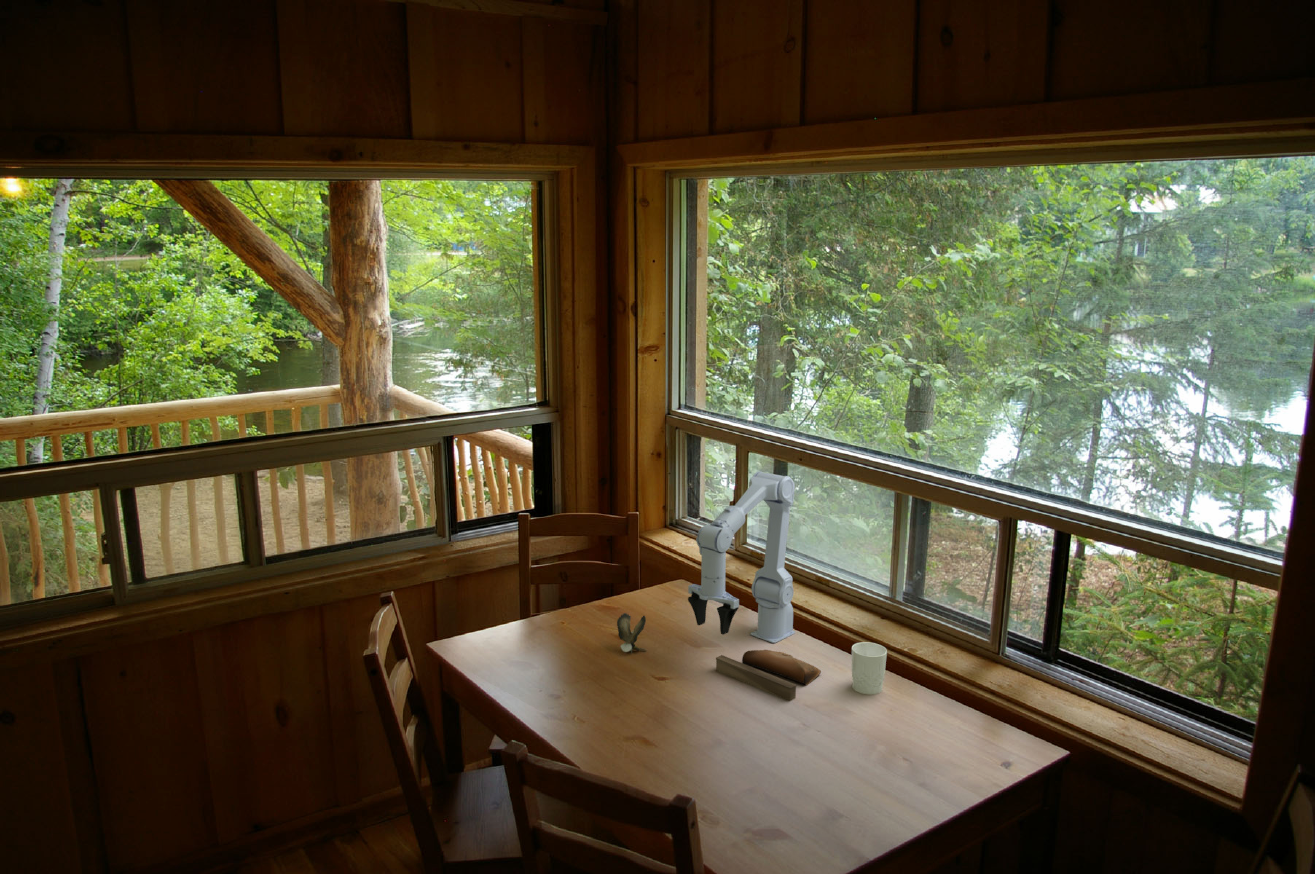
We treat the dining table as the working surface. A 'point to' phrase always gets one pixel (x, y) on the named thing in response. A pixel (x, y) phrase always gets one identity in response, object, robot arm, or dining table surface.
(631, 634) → the eagle figurine
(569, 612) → the dining table surface
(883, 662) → the white cup
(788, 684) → the walnut stop rail
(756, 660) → the sunglasses case
